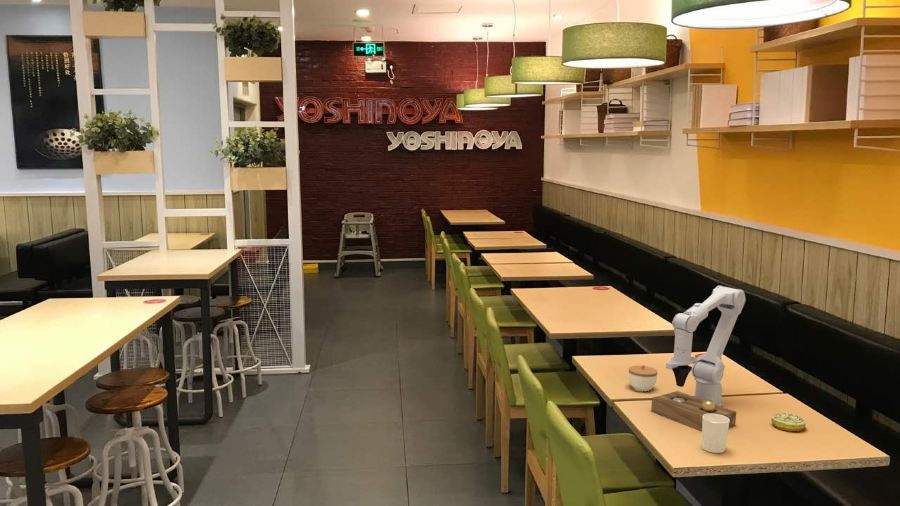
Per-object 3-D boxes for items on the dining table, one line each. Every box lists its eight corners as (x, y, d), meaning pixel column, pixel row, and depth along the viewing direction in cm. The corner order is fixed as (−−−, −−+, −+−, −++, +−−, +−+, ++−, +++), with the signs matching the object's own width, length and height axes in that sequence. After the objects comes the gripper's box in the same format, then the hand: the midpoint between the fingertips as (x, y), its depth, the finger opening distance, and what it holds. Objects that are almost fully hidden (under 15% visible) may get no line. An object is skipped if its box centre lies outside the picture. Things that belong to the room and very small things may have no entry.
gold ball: (706, 411, 251) (707, 398, 250) (716, 414, 248) (717, 402, 247) (699, 413, 249) (700, 400, 248) (709, 417, 245) (710, 404, 245)
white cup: (695, 443, 232) (698, 413, 230) (719, 443, 233) (722, 413, 231) (706, 454, 224) (709, 423, 223) (731, 454, 225) (734, 422, 223)
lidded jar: (623, 389, 282) (624, 366, 280) (633, 382, 290) (635, 359, 289) (650, 395, 276) (652, 371, 274) (660, 388, 284) (661, 365, 283)
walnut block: (676, 404, 267) (677, 390, 267) (735, 425, 248) (736, 411, 247) (651, 411, 259) (652, 397, 259) (709, 434, 240) (710, 419, 239)
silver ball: (677, 409, 261) (677, 396, 260) (686, 412, 258) (687, 400, 257) (669, 411, 259) (670, 398, 258) (679, 414, 256) (679, 402, 255)
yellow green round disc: (809, 427, 249) (810, 416, 248) (799, 436, 241) (800, 425, 240) (777, 419, 256) (778, 408, 255) (766, 427, 248) (767, 416, 247)
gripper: (686, 342, 262) (683, 379, 264) (659, 348, 254) (657, 386, 256) (703, 347, 257) (700, 384, 259) (676, 353, 248) (673, 391, 250)
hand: (680, 385), depth 257 cm, fingers closed
